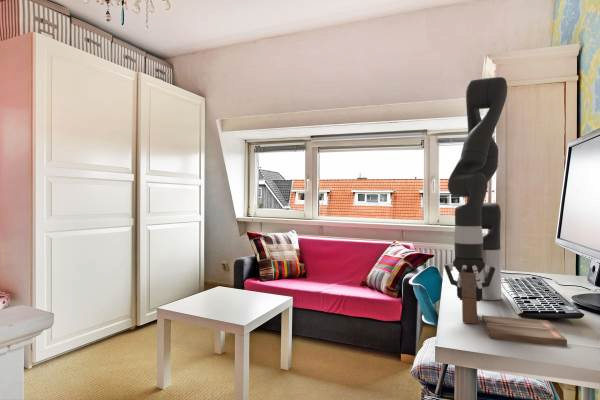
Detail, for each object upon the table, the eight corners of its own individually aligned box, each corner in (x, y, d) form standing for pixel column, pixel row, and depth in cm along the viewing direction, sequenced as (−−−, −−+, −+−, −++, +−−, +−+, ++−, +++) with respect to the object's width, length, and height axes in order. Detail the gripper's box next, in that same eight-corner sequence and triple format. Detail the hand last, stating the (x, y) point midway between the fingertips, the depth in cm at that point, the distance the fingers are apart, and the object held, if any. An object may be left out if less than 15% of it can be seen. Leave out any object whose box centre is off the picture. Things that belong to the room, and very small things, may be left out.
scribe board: (482, 320, 102) (482, 315, 102) (547, 326, 97) (547, 320, 97) (490, 338, 89) (490, 332, 89) (567, 346, 83) (567, 339, 83)
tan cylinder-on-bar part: (462, 322, 100) (461, 258, 100) (463, 311, 110) (462, 253, 110) (477, 324, 98) (475, 259, 98) (477, 313, 108) (476, 253, 108)
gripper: (493, 240, 105) (494, 298, 105) (441, 239, 110) (442, 295, 110) (498, 243, 98) (499, 305, 98) (442, 242, 103) (443, 301, 103)
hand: (469, 299), depth 104 cm, fingers closed on tan cylinder-on-bar part, 4 cm apart
